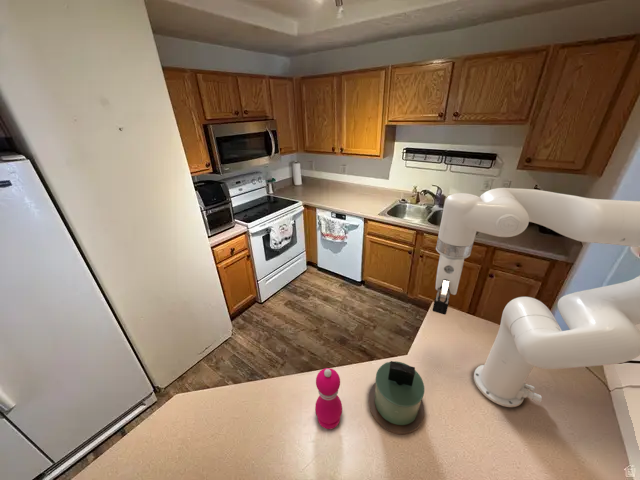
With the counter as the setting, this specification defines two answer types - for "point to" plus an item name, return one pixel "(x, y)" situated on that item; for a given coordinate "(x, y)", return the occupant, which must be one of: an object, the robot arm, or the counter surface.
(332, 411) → the pepper mill
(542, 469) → the counter surface
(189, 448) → the counter surface
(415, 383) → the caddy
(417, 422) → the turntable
